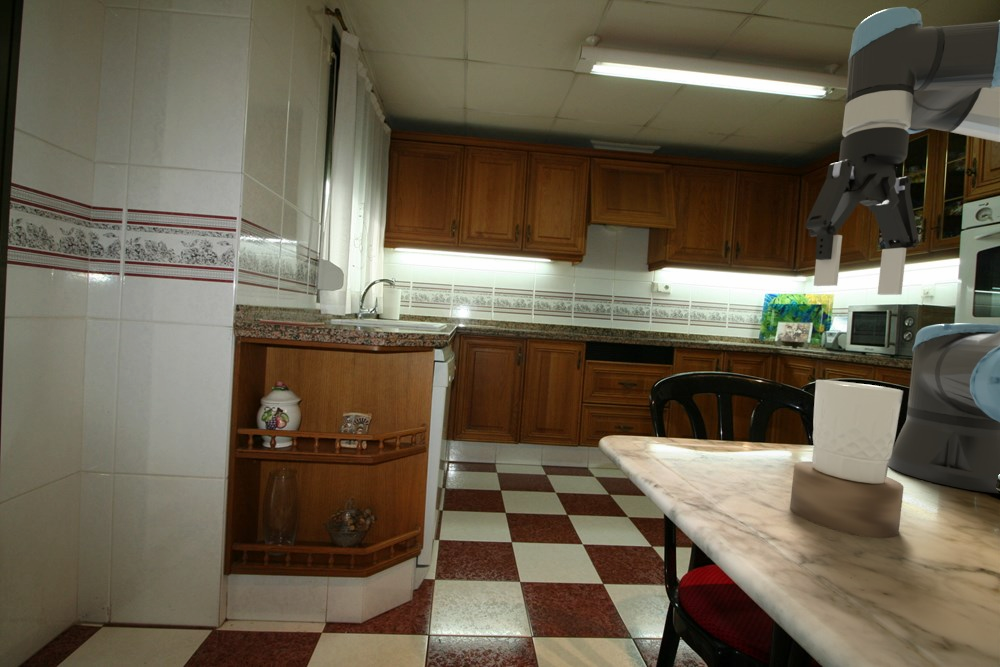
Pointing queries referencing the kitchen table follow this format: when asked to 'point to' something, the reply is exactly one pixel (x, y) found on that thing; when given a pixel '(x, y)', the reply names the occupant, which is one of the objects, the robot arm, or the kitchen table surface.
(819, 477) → the walnut block
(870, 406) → the white cup
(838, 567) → the kitchen table surface
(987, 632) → the kitchen table surface
